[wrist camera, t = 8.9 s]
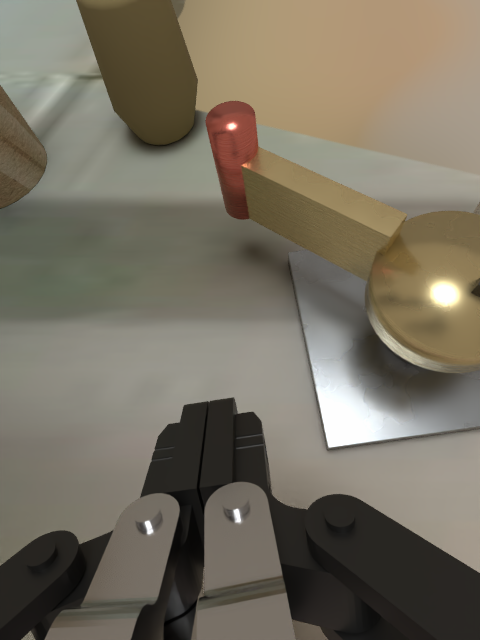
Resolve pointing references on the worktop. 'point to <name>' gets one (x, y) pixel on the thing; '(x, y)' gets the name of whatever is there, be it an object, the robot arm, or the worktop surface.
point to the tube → (17, 154)
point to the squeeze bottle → (143, 65)
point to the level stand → (370, 367)
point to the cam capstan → (363, 244)
